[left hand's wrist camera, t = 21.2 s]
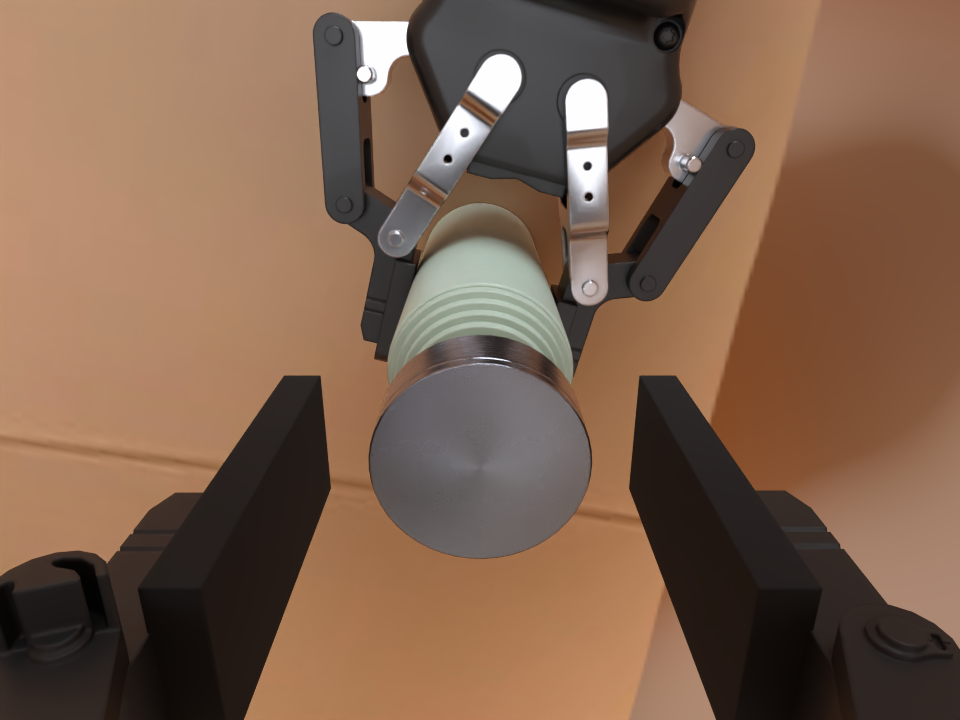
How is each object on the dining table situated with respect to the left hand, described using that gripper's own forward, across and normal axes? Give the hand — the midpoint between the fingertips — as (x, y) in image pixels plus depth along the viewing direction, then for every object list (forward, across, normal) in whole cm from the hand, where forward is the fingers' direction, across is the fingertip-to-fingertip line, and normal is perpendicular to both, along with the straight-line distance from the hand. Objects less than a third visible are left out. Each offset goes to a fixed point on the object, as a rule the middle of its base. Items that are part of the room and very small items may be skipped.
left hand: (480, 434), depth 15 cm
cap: (-1, 0, 0) cm, 1 cm away
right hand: (+10, -1, -2) cm, 10 cm away
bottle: (+16, 0, 0) cm, 16 cm away
